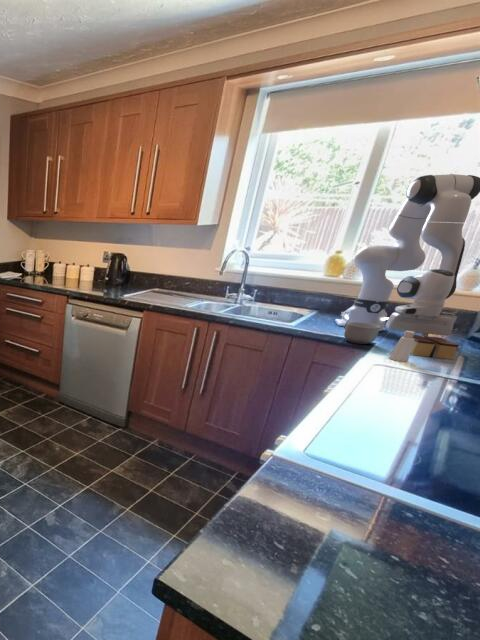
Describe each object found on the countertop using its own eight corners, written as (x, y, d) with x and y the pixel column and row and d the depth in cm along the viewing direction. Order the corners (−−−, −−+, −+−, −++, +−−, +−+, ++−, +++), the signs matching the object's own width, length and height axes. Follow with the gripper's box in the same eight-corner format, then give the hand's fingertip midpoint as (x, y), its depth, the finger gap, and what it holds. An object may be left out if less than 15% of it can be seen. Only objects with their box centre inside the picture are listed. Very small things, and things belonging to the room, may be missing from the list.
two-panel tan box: (397, 347, 179) (403, 333, 176) (434, 351, 174) (440, 337, 172) (412, 354, 168) (418, 340, 166) (451, 359, 164) (458, 345, 162)
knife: (401, 343, 185) (405, 333, 183) (408, 344, 184) (413, 334, 182) (429, 357, 166) (434, 346, 164) (437, 358, 165) (442, 347, 163)
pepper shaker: (409, 362, 158) (422, 334, 154) (390, 360, 160) (402, 331, 156) (405, 359, 162) (418, 331, 158) (386, 356, 165) (398, 328, 160)
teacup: (379, 346, 178) (387, 328, 175) (350, 344, 180) (357, 326, 177) (358, 338, 190) (365, 320, 188) (331, 336, 192) (337, 318, 190)
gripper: (454, 311, 174) (438, 344, 179) (391, 306, 181) (378, 337, 186) (463, 314, 169) (447, 348, 174) (398, 308, 176) (384, 341, 181)
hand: (411, 342), depth 180 cm, fingers closed on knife, 2 cm apart
